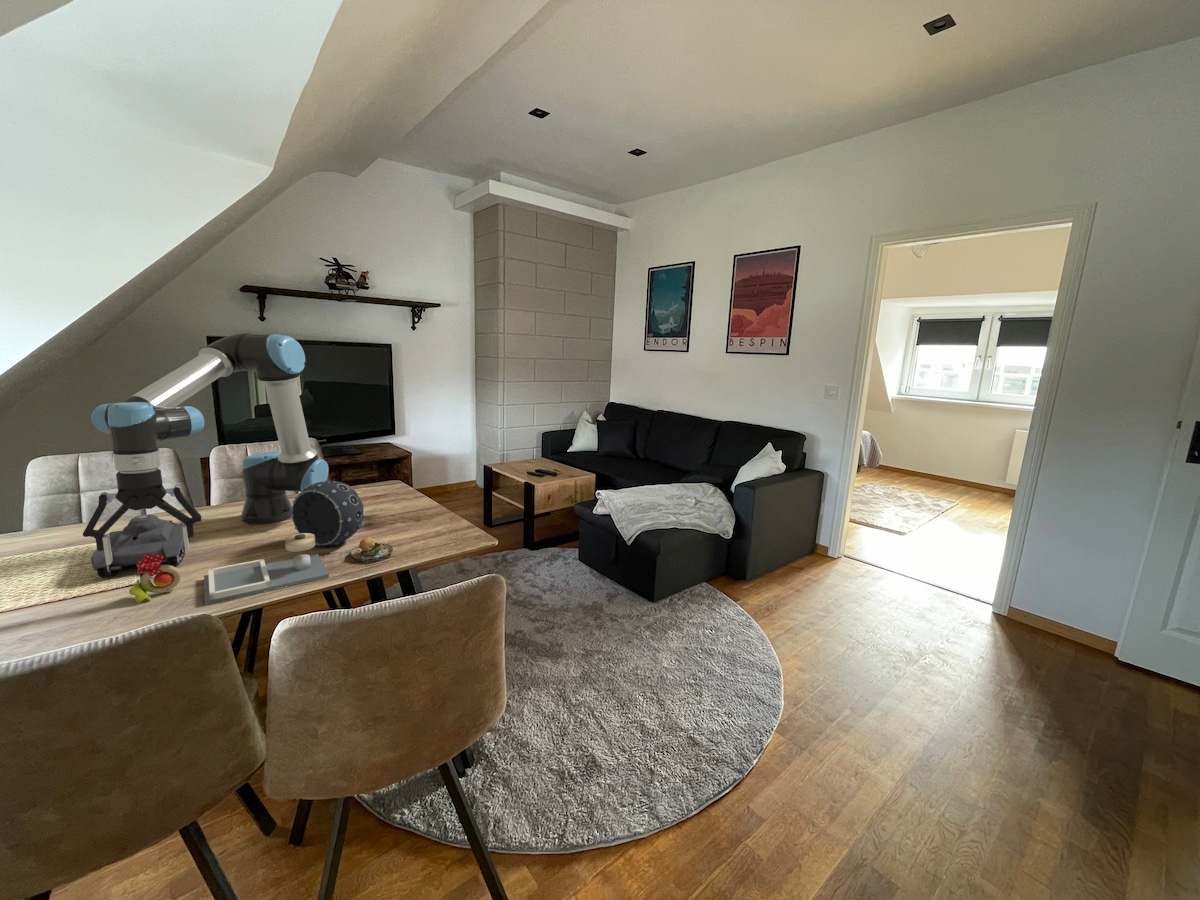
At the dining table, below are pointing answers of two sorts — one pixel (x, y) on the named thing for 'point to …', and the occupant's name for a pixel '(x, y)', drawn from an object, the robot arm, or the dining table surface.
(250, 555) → the dining table surface
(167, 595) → the dining table surface
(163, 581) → the bird rattle
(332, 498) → the dotted grey bowl
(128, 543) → the toy tank
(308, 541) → the wheel
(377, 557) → the burger
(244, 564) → the board
